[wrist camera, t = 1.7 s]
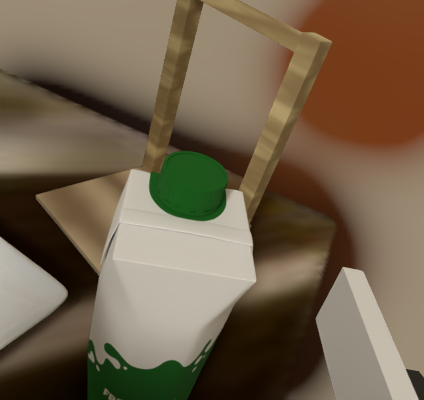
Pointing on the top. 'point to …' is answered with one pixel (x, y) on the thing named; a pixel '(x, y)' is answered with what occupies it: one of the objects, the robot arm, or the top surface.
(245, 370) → the top surface
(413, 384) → the robot arm
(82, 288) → the top surface
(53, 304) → the salad plate
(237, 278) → the fresh milk carton
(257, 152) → the wooden frame stand
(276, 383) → the top surface
